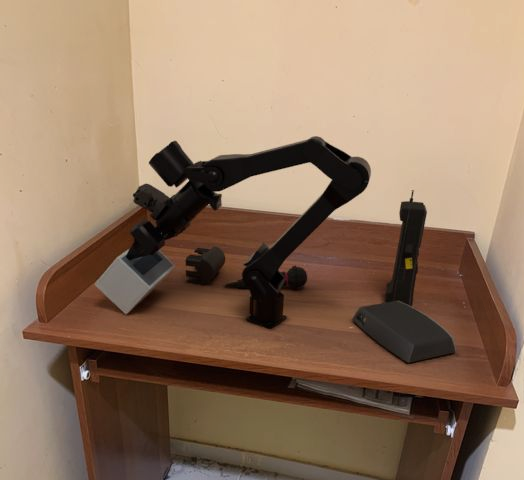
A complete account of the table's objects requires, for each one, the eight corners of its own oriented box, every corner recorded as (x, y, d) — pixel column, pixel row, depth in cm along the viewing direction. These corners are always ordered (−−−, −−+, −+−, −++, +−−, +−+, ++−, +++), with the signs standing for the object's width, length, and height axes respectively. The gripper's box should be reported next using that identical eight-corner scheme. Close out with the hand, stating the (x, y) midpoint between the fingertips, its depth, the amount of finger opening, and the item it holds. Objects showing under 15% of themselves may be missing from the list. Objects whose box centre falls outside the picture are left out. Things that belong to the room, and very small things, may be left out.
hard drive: (398, 313, 117) (401, 296, 115) (458, 354, 102) (463, 335, 100) (349, 321, 112) (351, 304, 110) (404, 365, 97) (408, 346, 95)
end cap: (213, 287, 125) (213, 260, 122) (185, 283, 127) (184, 256, 123) (225, 272, 134) (225, 247, 131) (199, 269, 135) (199, 243, 132)
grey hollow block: (175, 266, 118) (146, 237, 116) (150, 289, 106) (117, 257, 104) (153, 290, 122) (124, 262, 121) (126, 314, 111) (93, 284, 109)
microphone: (226, 302, 125) (308, 292, 126) (224, 283, 121) (309, 274, 122) (225, 287, 129) (305, 278, 130) (222, 268, 125) (305, 259, 125)
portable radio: (412, 311, 118) (434, 200, 106) (385, 308, 119) (404, 197, 107) (410, 297, 125) (431, 191, 112) (385, 294, 126) (403, 189, 113)
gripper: (175, 164, 109) (130, 210, 117) (136, 181, 93) (87, 234, 101) (211, 206, 112) (164, 248, 119) (179, 230, 96) (127, 277, 103)
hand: (137, 251), depth 111 cm, fingers open, 9 cm apart
